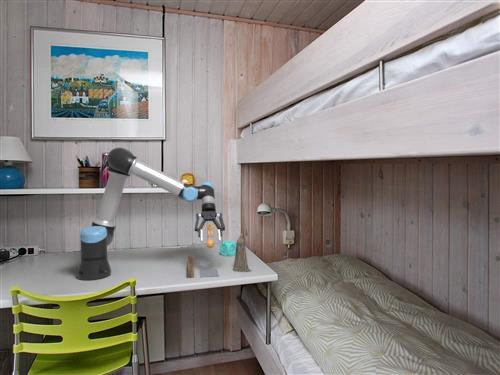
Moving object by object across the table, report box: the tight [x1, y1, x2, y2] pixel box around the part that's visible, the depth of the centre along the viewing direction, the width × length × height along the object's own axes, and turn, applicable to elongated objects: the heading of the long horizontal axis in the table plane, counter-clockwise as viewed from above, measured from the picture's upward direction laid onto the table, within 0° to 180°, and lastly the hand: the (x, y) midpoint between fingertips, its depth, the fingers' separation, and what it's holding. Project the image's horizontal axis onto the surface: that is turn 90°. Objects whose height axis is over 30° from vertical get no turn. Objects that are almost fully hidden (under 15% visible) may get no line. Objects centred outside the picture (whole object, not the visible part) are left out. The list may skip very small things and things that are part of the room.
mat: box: [199, 268, 220, 278], centre depth 166 cm, size 9×12×1 cm
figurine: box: [202, 223, 218, 249], centre depth 166 cm, size 8×6×12 cm
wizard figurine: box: [232, 222, 252, 273], centre depth 171 cm, size 10×8×25 cm
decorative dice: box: [219, 240, 237, 257], centre depth 203 cm, size 8×8×8 cm
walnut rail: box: [187, 255, 195, 279], centre depth 172 cm, size 3×28×4 cm, turn 11°
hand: (210, 241), depth 163 cm, fingers closed on figurine, 8 cm apart
